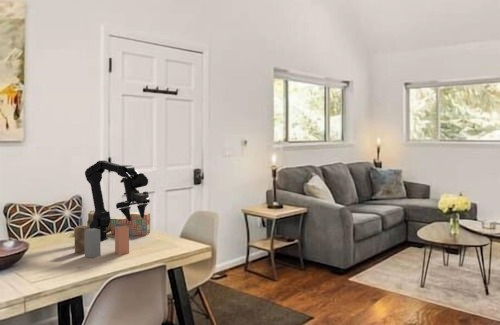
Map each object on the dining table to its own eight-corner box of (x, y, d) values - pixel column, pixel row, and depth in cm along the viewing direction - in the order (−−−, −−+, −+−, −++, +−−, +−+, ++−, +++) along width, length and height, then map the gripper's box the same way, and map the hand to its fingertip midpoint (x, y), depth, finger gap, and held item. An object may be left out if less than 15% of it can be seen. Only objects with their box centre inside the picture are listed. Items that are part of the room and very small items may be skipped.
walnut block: (74, 253, 208) (74, 227, 207) (80, 250, 213) (79, 225, 212) (84, 253, 207) (84, 228, 207) (89, 251, 212) (89, 225, 212)
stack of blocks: (110, 234, 249) (110, 213, 249) (115, 232, 256) (114, 211, 255) (147, 235, 248) (147, 214, 247) (150, 233, 254) (150, 212, 253)
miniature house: (84, 234, 250) (84, 214, 249) (87, 229, 263) (86, 210, 262) (112, 233, 253) (111, 213, 253) (113, 228, 267) (112, 209, 266)
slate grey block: (84, 256, 203) (84, 229, 203) (94, 254, 207) (94, 228, 206) (90, 258, 200) (90, 231, 199) (100, 255, 204) (100, 229, 203)
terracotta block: (115, 252, 210) (114, 226, 210) (125, 251, 213) (124, 225, 213) (118, 254, 206) (118, 228, 206) (129, 253, 209) (128, 227, 209)
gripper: (128, 188, 212) (134, 220, 211) (154, 185, 228) (160, 214, 227) (112, 192, 217) (118, 223, 216) (139, 188, 233) (144, 217, 232)
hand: (136, 219), depth 223 cm, fingers open, 9 cm apart
